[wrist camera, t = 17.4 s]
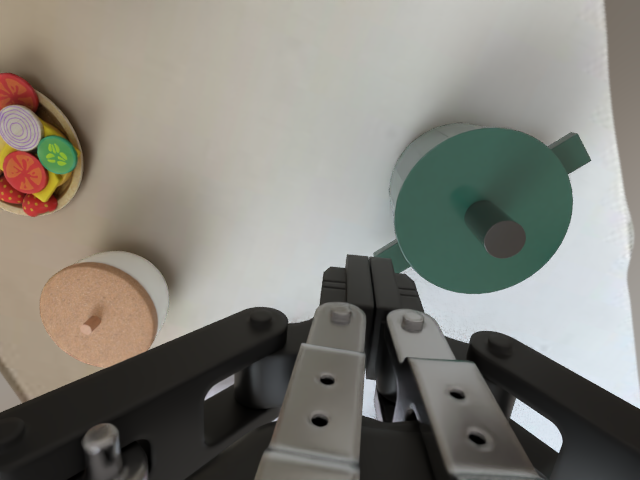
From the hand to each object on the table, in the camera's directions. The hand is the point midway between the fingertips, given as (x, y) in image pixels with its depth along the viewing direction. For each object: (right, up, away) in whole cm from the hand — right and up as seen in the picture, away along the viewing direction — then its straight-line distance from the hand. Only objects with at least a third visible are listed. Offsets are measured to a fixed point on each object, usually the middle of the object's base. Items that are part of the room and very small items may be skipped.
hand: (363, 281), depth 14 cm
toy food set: (-30, +11, +27) cm, 42 cm away
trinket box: (-21, -3, +32) cm, 38 cm away
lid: (+11, +3, +18) cm, 21 cm away
